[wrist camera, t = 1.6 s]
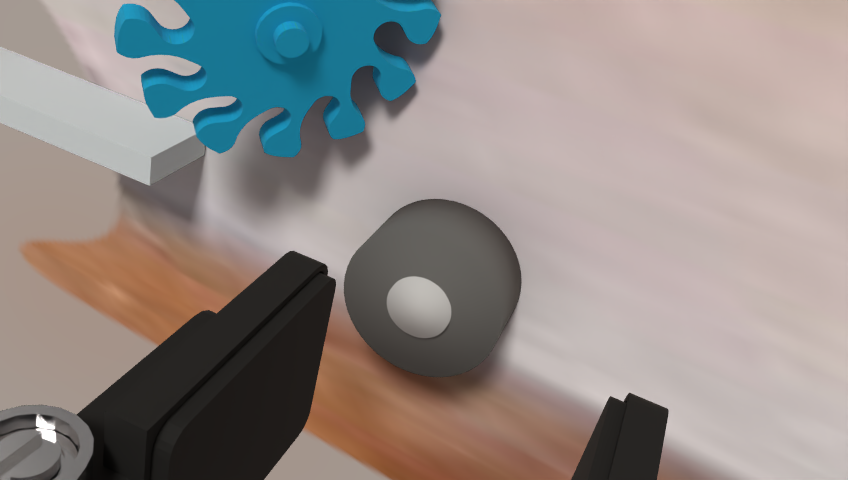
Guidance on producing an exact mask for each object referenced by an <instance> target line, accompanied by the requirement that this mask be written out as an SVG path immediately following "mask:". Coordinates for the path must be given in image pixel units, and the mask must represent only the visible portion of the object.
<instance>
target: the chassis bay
mask: <svg viewBox="0 0 848 480" xmlns="http://www.w3.org/2000/svg"><path fill="white" fill-rule="evenodd" d="M0 123H1V124H4V125H6V126H9V127H11V128H13V129H16V130H18V131H21V132H23V133H25V134H27V135H30V136H32V137H35V138H37V139H39V140H42V141H44V142H46V143H49V144H52V145H54V146H56V147H59V148H61V149H63V150H66V151H68V152H70V153H73V154H75V155H78V156H80V157H82V158H85V159H87V160H89V161H92V162H94V163H96V164H99V165H101V166H104V167H106V168H109V169H111V170H113V171H115V172H118V173H120V174H123V175H125V176H127V177H130V178H132V179H134V180H137V181H139V182H142V183H144V184H146V185H149V186H150V185H152V184H154V183H156V182H157V181H159V180H161V179H163V178H164V177H166V176H168V175H170V174H172V173H173V172H175V171H177V170H179V169H180V168H182V167H184V166H186V165H187V164H189V163H191V162H193V161H195V160H196V159H198V158H200V157H202V156H203V155H204V154H205V145H204V144H203V143H202V142H200V141H199V139H198V138H197V137H196V133H195V129H194V125H193V123H192V122H189V121H187V120H184V119H182V118H179V117H177V116H174V115H172V116H170V117H167V118H154V116H153V115H152V113H151V111H150V110H149V108H148V106H147V105H146V104H144V103H141V102H139V101H136V100H134V99H131V98H129V97H126V96H124V95H121V94H119V93H116V92H114V91H111V90H109V89H106V88H104V87H101V86H99V85H96V84H94V83H91V82H88V81H86V80H83V79H81V78H78V77H76V76H73V75H71V74H68V73H66V72H63V71H61V70H58V69H56V68H53V67H51V66H48V65H46V64H43V63H41V62H37V61H35V60H33V59H30V58H28V57H25V56H23V55H20V54H18V53H15V52H13V51H10V50H8V49H5V48H3V47H0Z"/></svg>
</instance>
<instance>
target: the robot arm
mask: <svg viewBox="0 0 848 480" xmlns="http://www.w3.org/2000/svg"><path fill="white" fill-rule="evenodd" d="M327 274H328V269H327V266H326V265H325V264H323V263H321V262H319V261H316V260H314V259H311V258H309V257H307V256H304V255H302V254H300V253H297V252H295V251H290V252H288V253H286V254H285V255H284V256H283V257H282V258H280V259H279V260H278V261H277V262H276V263H275V264H274V265H272V266H271V267H270V268H269V269H268V270H267V271H265V272H264V273H263V274H262V275H261V276H260V277H258V278H257V279H256V280H255V281H254V282H253V283H252V284H250V285H249V286H248V287H247V288H246V289H245V290H243V291H242V292H241V293H240V294H239V295H238V296H236V297H235V298H234V299H233V300H232V301H231V302H230V303H228V304H227V305H226V306H225V307H224V308H223V309H221V310H220V311H219V312H218V313H217V314H216V313H214V312H212V311H210V310H207V311H202V312H200V313H199V314H197V315H196V316H194V317H193V318H192V319H190V320H189V321H188V322H187V323H186V324H184V325H183V326H182V327H181V328H180V329H178V330H177V331H176V332H175V333H174V334H173V335H171V336H170V337H169V338H168V339H167V340H165V341H164V342H163V343H162V344H161V345H159V346H158V347H157V348H156V349H155V350H153V351H152V352H151V353H150V354H149V355H148V356H146V357H145V358H144V359H143V360H141V361H140V362H139V363H138V364H137V365H135V366H134V367H133V368H132V369H131V370H129V371H128V372H127V373H126V374H125V375H123V376H122V377H121V378H120V379H119V380H117V381H116V382H115V383H114V384H113V385H111V386H110V387H109V388H108V389H107V390H106V391H104V392H103V393H102V394H101V395H99V396H98V397H97V398H96V399H95V400H94V401H92V402H91V403H90V404H89V405H88V406H86V407H85V408H84V409H83V410H82V411H80V412H79V413H78V414H77V415H76V414H73V413H71V412H69V411H67V410H64V409H62V408H58V407H53V406H47V405H24V406H18V407H15V408H10V409H6V410H2V411H0V480H264V479H265V478H266V476H267V475H268V474H269V472H270V471H271V470H272V469H273V467H274V466H275V465H276V464H277V462H278V461H279V460H280V459H281V457H282V456H283V455H284V453H285V452H286V451H287V450H288V448H289V447H290V445H291V444H292V443H293V442H294V441H295V439H296V438H297V437H298V435H299V434H300V433H301V431H302V429H303V428H304V426H305V424H306V422H307V419H308V416H309V413H310V409H311V404H312V400H313V395H314V390H315V385H316V380H317V375H318V370H319V366H320V361H321V356H322V351H323V346H324V341H325V336H326V332H327V327H328V322H329V317H330V312H331V307H332V302H333V298H334V293H335V287H336V280H335V279H333V278H331V277H329V276H327ZM667 419H668V409H667V408H664V407H662V406H660V405H657V404H655V403H653V402H650V401H648V400H645V399H643V398H641V397H638V396H636V395H634V394H631V393H629V394H628V395H627V397H626V398H625V400H624V402H623V401H620V400H618V399H616V398H613V397H611V396H610V397H609V399H608V401H607V403H606V405H605V407H604V410H603V412H602V414H601V416H600V418H599V421H598V423H597V425H596V427H595V429H594V431H593V434H592V436H591V438H590V440H589V442H588V444H587V447H586V449H585V451H584V453H583V455H582V458H581V460H580V462H579V464H578V466H577V468H576V471H575V473H574V475H573V477H572V479H571V480H657V475H658V470H659V464H660V458H661V453H662V447H663V441H664V436H665V430H666V424H667Z"/></svg>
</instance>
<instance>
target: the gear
mask: <svg viewBox="0 0 848 480" xmlns="http://www.w3.org/2000/svg"><path fill="white" fill-rule="evenodd" d="M175 1H176V2H177V3H178V4H179V5H180V6H181V7H182V8H183V9H184V11H185V12H186V13H187V15H188V16H189V17H190V19H189V21H188V23H187V24H186V25H185V26H183V27H182V28H179V29H173V30H172V29H167V28H164V27H162V26H161V25H160V24H159V23H158V22H157V21H156V20H155V18H154V17H153V16H152V14H151V13H150V12H149V11H148V10H147V9H145V8H144V7H142V6H140V5H136V4H123V5H122V7H121V8H120V10H119V12H118V14H117V17H116V23H115V34H114V37H115V44H116V50H117V52H118V53H119V54H121V55H123V56H125V57H129V58H141V57H145V56H149V55H171V56H177V57H180V58H183V59H186V60H189V61H191V62H194V63H196V64H198V65H200V66H202V67H201V69H200V70H199V71H198V72H197V73H195V74H193V75H190V76H181V75H178V74H176V73H173V72H171V71H168V70H165V69H159V68H157V69H151V70H148V71H146V72H144V73H143V74H141V82H142V87H143V92H144V97H145V101H146V104H147V106H148V108H149V110H150V111H151V113H152V115H153V116H154V118H167V117H170V116H172V115H174V114H176V113H177V112H178V111H179V110H180V109H182V108H183V107H185V106H187V105H188V104H190V103H192V102H195V101H197V100H201V99H204V98H210V97H219V96H233V97H236V98H237V99H236V101H235V102H234V103H233V104H231V105H229V106H226V107H216V108H207V109H204V110H202V111H200V112H199V113H198V114H197V115H196V116H195V117H194V119H193V125H194V129H195V133H196V137H197V138H198V139H199V141H200V142H202V143H203V144H204V145H205V146H207V147H208V148H210V149H212V150H214V151H216V152H218V153H223V152H225V151H227V150H229V149H230V148H231V147H232V146H233V145H234V143H235V141H236V138H237V136H238V134H239V132H240V131H241V129H242V128H243V127H244V126H245V125H246V124H247V123H248V122H249V121H250V120H252V119H253V118H255V117H256V116H258V115H259V114H261V113H263V112H265V111H267V110H269V109H271V108H274V107H282V108H285V109H284V111H283V112H282V113H280V114H279V115H277V116H275V117H274V118H272V119H270V120H268V121H267V122H265V123H264V124H263V125H262V127H261V129H260V131H259V136H260V140H261V143H262V146H263V149H264V152H265V153H267V154H269V155H273V156H279V157H295V156H296V155H297V154H298V152H299V151H300V149H301V139H300V128H301V123H302V121H303V118H304V116H305V115H306V113H307V112H308V110H309V109H310V107H311V106H312V105H313V103H314V102H315V101H316V100H317V99H319V98H321V97H324V96H333V98H332V100H331V101H330V103H329V104H328V105H327V107H326V108H325V110H324V113H323V119H324V122H325V124H326V127H327V129H328V132H329V134H330V136H331V137H332V138H333V139H342V138H347V137H350V136H353V135H356V134H358V133H361V132H363V130H364V128H365V121H364V119H363V117H362V114H361V112H360V110H359V108H358V106H357V104H356V103H355V102H354V101H353V100H352V99H351V96H350V92H351V80H352V76H353V74H354V73H355V72H356V70H358V69H359V68H361V67H363V66H368V65H370V66H374V67H373V80H374V82H375V84H376V86H377V88H378V90H379V92H380V94H381V95H382V97H383V98H385V99H386V100H389V101H392V100H394V99H396V98H398V97H399V96H401V95H402V94H403V93H405V92H406V91H407V90H408V89H409V88H410V87H411V86H412V85H413V84H414V83H415V82H416V80H415V77H414V75H413V73H412V71H411V69H410V67H409V66H408V64H407V62H406V61H405V60H404V59H403V58H401V57H399V56H395V55H391V54H389V53H387V52H385V51H384V50H382V49H381V48H380V47H379V46H378V45H377V44H376V43H375V42H374V33H375V31H376V29H377V28H378V27H379V26H380V25H381V24H383V23H385V22H390V21H393V22H397V23H399V24H400V26H401V27H402V29H403V31H404V32H405V34H406V36H407V38H408V39H409V40H410V41H411V42H413V43H416V44H426V43H427V42H428V41H429V40H430V39H431V37H432V35H433V34H434V32H435V30H436V28H437V25H438V23H439V20H440V17H441V14H440V13H439V11H438V10H437V8H436V6H435V5H434V3H433V2H432V1H431V0H175Z"/></svg>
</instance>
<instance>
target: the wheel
mask: <svg viewBox="0 0 848 480" xmlns="http://www.w3.org/2000/svg"><path fill="white" fill-rule="evenodd" d="M520 291H521V271H520V265H519V262H518V259H517V255H516V253H515V251H514V249H513V247H512V245H511V243H510V242H509V240H508V239H507V237H506V236H505V235H504V233H503V232H502V231H501V230H500V228H499V227H498V226H496V225H495V224H494V223H493V222H492V221H491V220H490V219H489V218H487V217H486V216H485V215H483V214H482V213H480V212H478V211H477V210H475V209H473V208H471V207H469V206H466V205H464V204H461V203H458V202H455V201H449V200H443V199H428V200H421V201H416V202H414V203H411V204H408V205H406V206H404V207H402V208H401V209H399V210H398V211H396V212H395V213H394V214H393V215H392V216H391V217H390V218H389V219H388V220H387V221H386V222H385V223H384V224H383V225H382V226H381V227H380V228H379V229H378V230H377V231H376V232H375V233H374V234H373V235H372V236H371V237H370V238H369V239H368V240H367V241H366V242H365V243H364V244H363V245H362V246H361V247H360V248H359V249H358V250H357V251H356V253H355V254H354V255H353V257H352V258H351V260H350V263H349V265H348V267H347V271H346V274H345V280H344V296H345V302H346V306H347V310H348V313H349V315H350V318H351V320H352V322H353V324H354V326H355V328H356V329H357V331H358V332H359V334H360V335H361V337H362V338H363V339H364V340H365V342H366V343H367V344H368V345H369V346H370V347H371V348H372V349H373V350H374V351H375V352H376V353H377V354H379V355H380V356H381V357H383V358H384V359H385V360H387V361H388V362H390V363H392V364H393V365H395V366H397V367H399V368H401V369H403V370H406V371H409V372H411V373H415V374H418V375H422V376H429V377H449V376H454V375H459V374H462V373H464V372H467V371H469V370H471V369H473V368H475V367H476V366H478V365H479V364H480V363H481V362H483V361H484V360H485V358H486V357H487V356H488V355H489V354H490V352H491V351H492V349H493V348H494V346H495V344H496V342H497V340H498V339H499V337H500V335H501V333H502V331H503V329H504V327H505V326H506V324H507V322H508V320H509V318H510V316H511V314H512V313H513V311H514V309H515V307H516V304H517V302H518V299H519V296H520Z"/></svg>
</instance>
